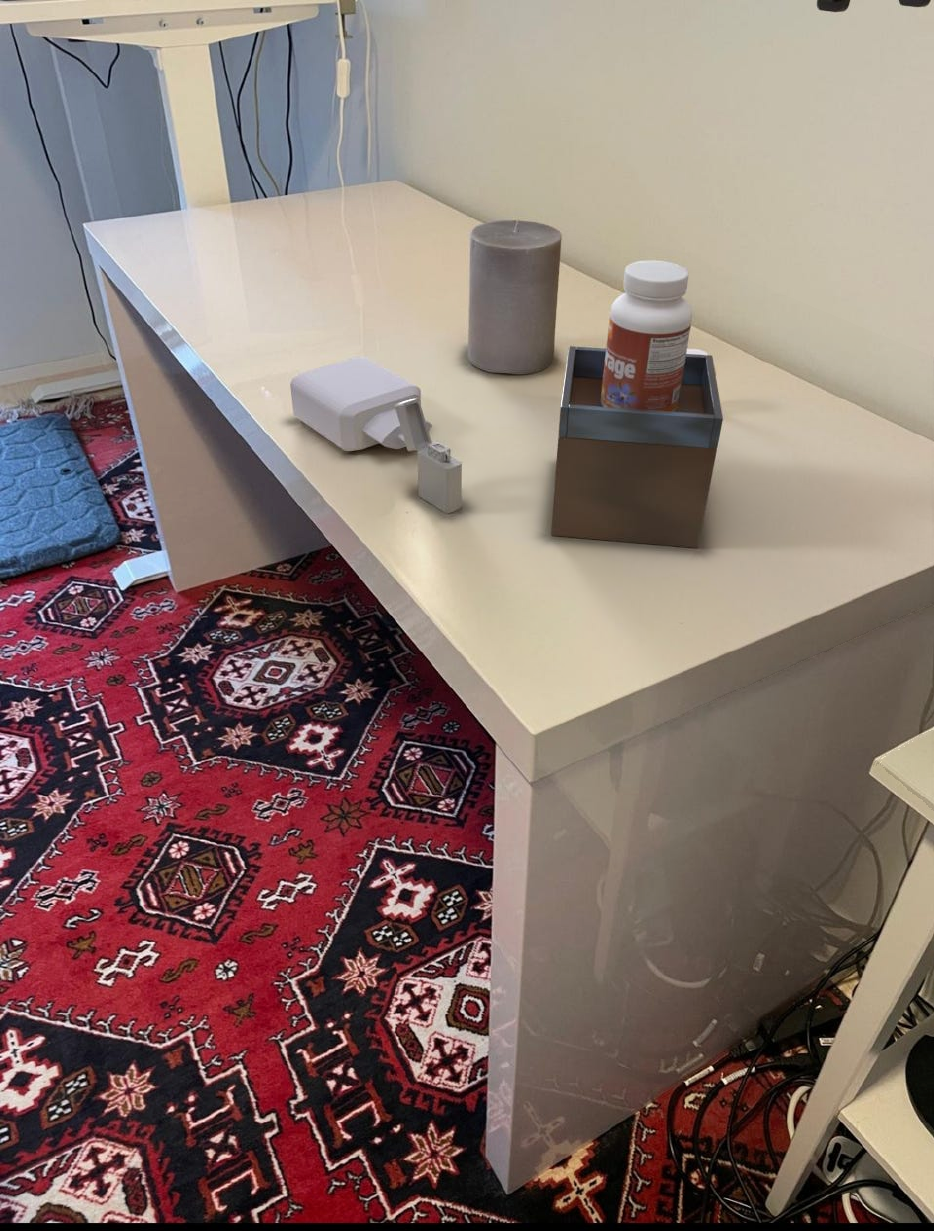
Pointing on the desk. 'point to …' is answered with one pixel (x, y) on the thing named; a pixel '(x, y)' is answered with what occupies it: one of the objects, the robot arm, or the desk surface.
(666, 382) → the pill bottle
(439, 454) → the lighter
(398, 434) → the charger
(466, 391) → the desk surface
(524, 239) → the pillar candle
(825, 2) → the robot arm
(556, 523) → the cube pen cup
